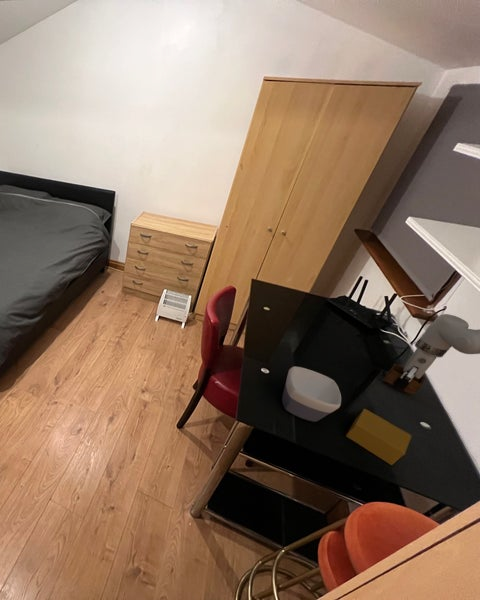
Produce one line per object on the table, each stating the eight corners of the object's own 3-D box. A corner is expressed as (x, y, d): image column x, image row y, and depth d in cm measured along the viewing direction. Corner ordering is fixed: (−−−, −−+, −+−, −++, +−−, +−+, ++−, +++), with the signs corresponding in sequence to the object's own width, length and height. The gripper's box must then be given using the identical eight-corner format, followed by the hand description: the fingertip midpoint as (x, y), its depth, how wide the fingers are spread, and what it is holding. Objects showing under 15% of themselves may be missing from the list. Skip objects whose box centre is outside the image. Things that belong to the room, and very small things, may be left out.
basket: (416, 387, 121) (425, 377, 118) (413, 395, 118) (422, 385, 115) (386, 373, 127) (394, 362, 124) (382, 380, 123) (390, 370, 120)
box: (399, 447, 101) (411, 435, 98) (391, 466, 95) (404, 454, 92) (354, 419, 109) (364, 408, 105) (345, 435, 103) (355, 424, 100)
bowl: (274, 412, 108) (289, 390, 102) (275, 382, 120) (288, 361, 114) (327, 433, 103) (345, 411, 97) (322, 400, 115) (339, 379, 108)
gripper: (442, 363, 105) (408, 399, 115) (448, 343, 115) (417, 379, 125) (412, 350, 110) (382, 386, 120) (421, 332, 120) (393, 367, 129)
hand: (400, 382), depth 122 cm, fingers closed on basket, 6 cm apart
